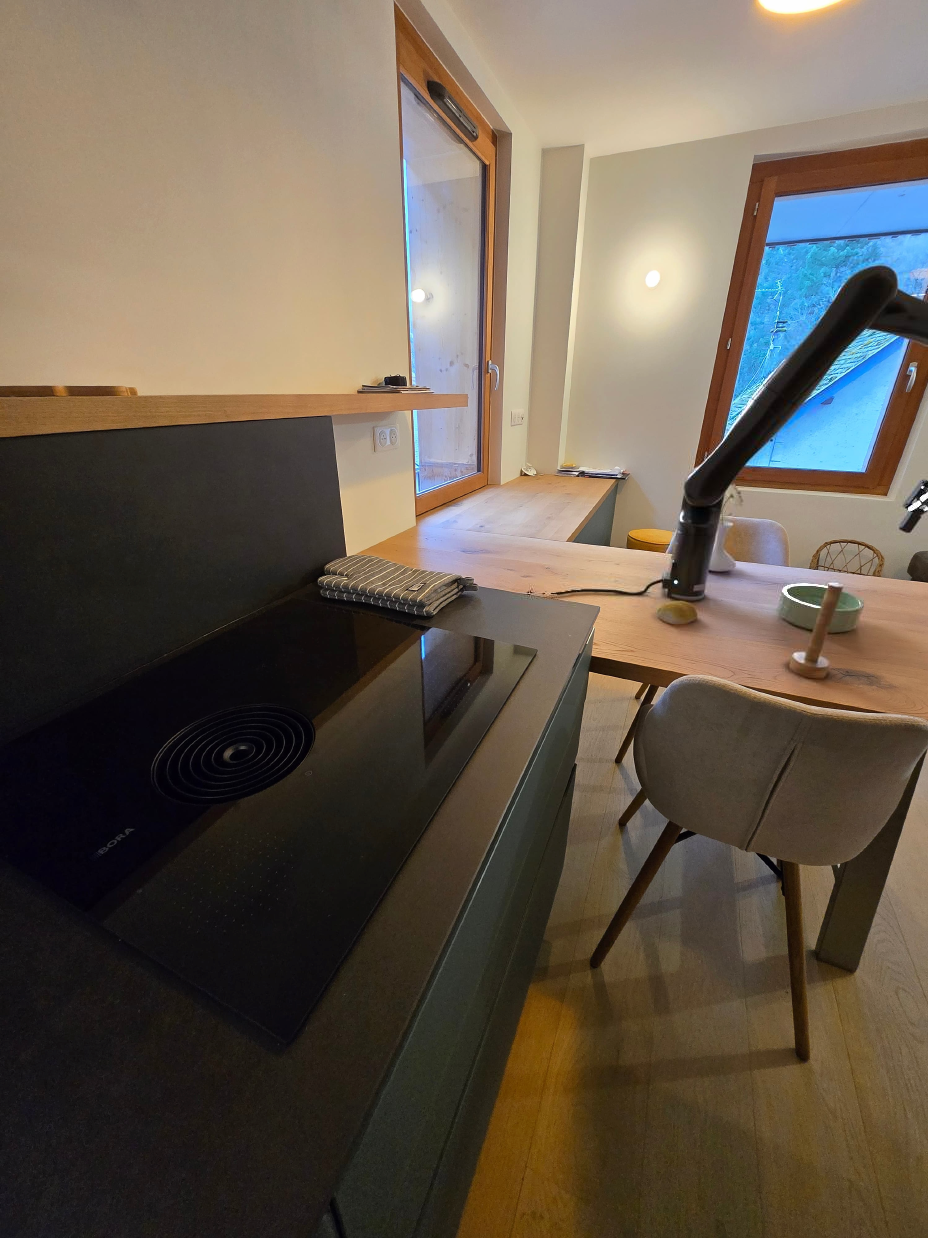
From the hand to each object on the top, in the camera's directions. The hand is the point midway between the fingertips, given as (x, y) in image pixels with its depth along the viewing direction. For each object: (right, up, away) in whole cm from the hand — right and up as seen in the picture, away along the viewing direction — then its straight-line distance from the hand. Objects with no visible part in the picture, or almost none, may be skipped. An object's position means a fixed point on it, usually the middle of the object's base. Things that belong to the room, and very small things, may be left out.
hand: (923, 534), depth 94 cm
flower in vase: (-12, -1, +55) cm, 57 cm away
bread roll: (-37, -16, +24) cm, 47 cm away
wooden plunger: (-21, -26, +2) cm, 34 cm away
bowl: (-5, -16, +22) cm, 28 cm away
